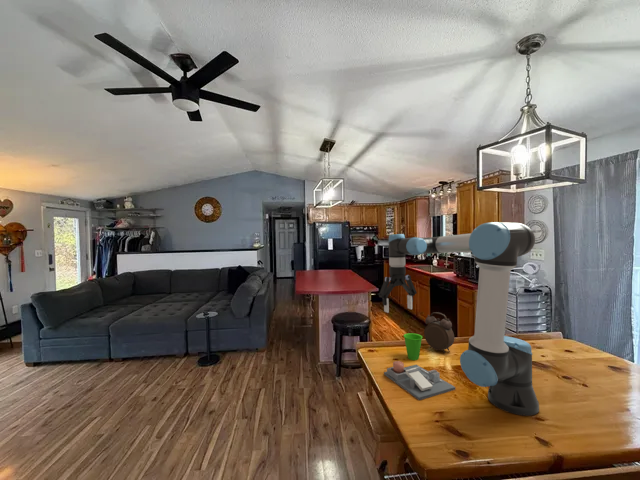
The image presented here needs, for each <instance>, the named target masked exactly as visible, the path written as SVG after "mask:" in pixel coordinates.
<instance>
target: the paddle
mask: <svg viewBox="0 0 640 480" xmlns="http://www.w3.org/2000/svg"><path fill="white" fill-rule="evenodd" d="M405 373H406V374H407V375H408V376H409V377H410V378H413V379H414V381H415V384H416V385H417V386H418V387H419V388H420V390H421V391H424V390H428V389H431V388H432V387H433V385H432V384H431V383H430V382H429V381H428V380H427V379H426V378H425V377H424V376H423V375H422V374H421V373H420V372H419V371H418V370H417V369H416V368H413V369H409V370H406V372H405Z"/></svg>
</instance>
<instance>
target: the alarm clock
mask: <svg viewBox="0 0 640 480" xmlns="http://www.w3.org/2000/svg"><path fill="white" fill-rule="evenodd" d="M434 314H437V315H439V316H443V319H440V318H439V317H438V318H436V317H435V316H433V315H434ZM424 321H425V324H426V326H425V327H424V330H423V331H424V333H423V335H424V339H425V341H426V343H427V344H428V346H429V349H431V348H432V349H433V350H435V351H442V352H443V353H444V354H445V353H446V352H445V350H448V353H450V352H451V351H450V347H452V345H453V344H454V342H455V334H454V331H453V329H452V327H453V324H452V321H451V320H450V318H447V316H446V315H445V313H442V312H439V311H438V312H437V311H436V312H431V313H430V315H429V314H427V317H426V318H425V319H424Z"/></svg>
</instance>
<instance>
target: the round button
mask: <svg viewBox="0 0 640 480" xmlns="http://www.w3.org/2000/svg"><path fill="white" fill-rule="evenodd" d="M404 365H405V363H404V362H403V361H400V360H397V361H396V360H395V361H392V367H393V371H394V372H395V373H398V374H400V373H404V367H405V366H404Z"/></svg>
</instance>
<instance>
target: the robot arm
mask: <svg viewBox="0 0 640 480" xmlns="http://www.w3.org/2000/svg"><path fill="white" fill-rule="evenodd" d="M387 244H388V260H389V261H388V263H389V267H388V269H389V276H385V277H384V278H383V282H382V285H381V288H380V291H379V293H378V297H379V298H382V305H383V312H385V313H387V314H389V312H390V307H389V306H390V305H389V304H390V302H389V301H390V300H389V298H388V297H389V295H390V294H391V292H392V291H393V289H394V288H395V287H398V286H399V287H400V286H401V287H402V288H403V290H405V292H406V293H407V295H406V298H407V303H406V305H407V307H406V308H407V309H409V310H413V302H414V296H415V295H416V294H418V293H417V290H416V288H415V286H414V283H413V281H412V276H411V275H409V274H406V273H407V272H406V269H407V268H406V255H412V256H416V255H417V256H418V255H425V254H426V255H427V254H448V253H449V254H450V253H452V254H453V253H456V254H457V253H471V254H472V255H473V256H474V258H475V259H474V263H475V264H476V266H478V267H479V268H478V269H479V271H478V284H477V285H478V286H477V298H476V309H475V310H476V311H475V321H474V322H475V323H474V334H473V335H472V336H471V337H469V339H468V345H467V347H468V348H467V349H466V350H464V351H463V352H462V353H461V354H460V357H459V363H460V367H461V370H462V371H463V372H464V374H465V376H466V378H467V379H469V381H470V382H472V383H473V384H475V385H476V386H477V387H478V386H479V387H483V388H486V387H487V388H488V391H487V398H488V400H489V402H490V403H491V404H492V405H493V406H495V407H496V408H498V409H500V410H502V411H504V412H506V413H509V414H513V415H518V416H527V417H528V416H534V415H537V414H538V413H539V412H540V403H539V400H538V398H537V395H536V392H535V390H534V387H533V352H532V351H533V350H532V346H531V344H530V343H529V342H528V341H525V340H524V339H523V340H522V339H520V338H517V337H512V336H507V335H505V334H506V323H507V321H506V320H507V310H508V302H509V301H508V299H509V291H510V290H509V289H510V277H511V271H512V270H513V269H515V268H516V267H517V266H518V265H517V264H518V257H522V256H524V255H527V254H528V253H530V252H531V251H532V249H533V248H534V246H535V244H536V236H535V233H534V232H533V230H532V229H531V228H530V227H529V226H528V225H526V224H524V223H520V222H513V221H512V222H509V221H505V222H501V221H500V222H499V221H494V222H493V221H491V222H484V223H481V224H479V225H478V226H476V227H475V228H474V229H473V230H472V231H471V233H462V234H453V235H443V236H434V237H431V236H430V237H405V234H404V233H396V234H389V236H388V243H387Z"/></svg>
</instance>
